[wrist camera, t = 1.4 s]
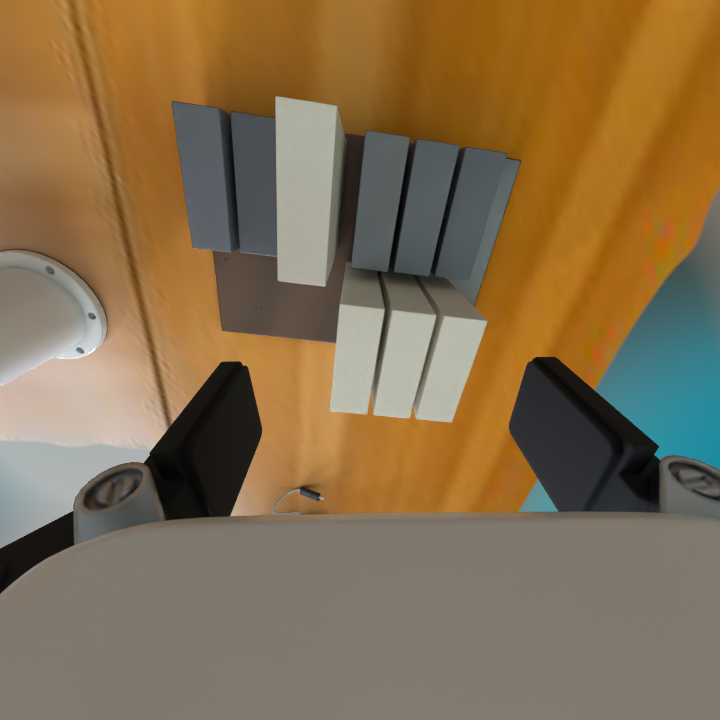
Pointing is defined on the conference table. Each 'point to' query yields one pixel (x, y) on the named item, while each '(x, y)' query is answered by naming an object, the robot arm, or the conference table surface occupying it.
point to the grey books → (375, 202)
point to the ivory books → (403, 345)
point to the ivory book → (308, 188)
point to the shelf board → (321, 303)
